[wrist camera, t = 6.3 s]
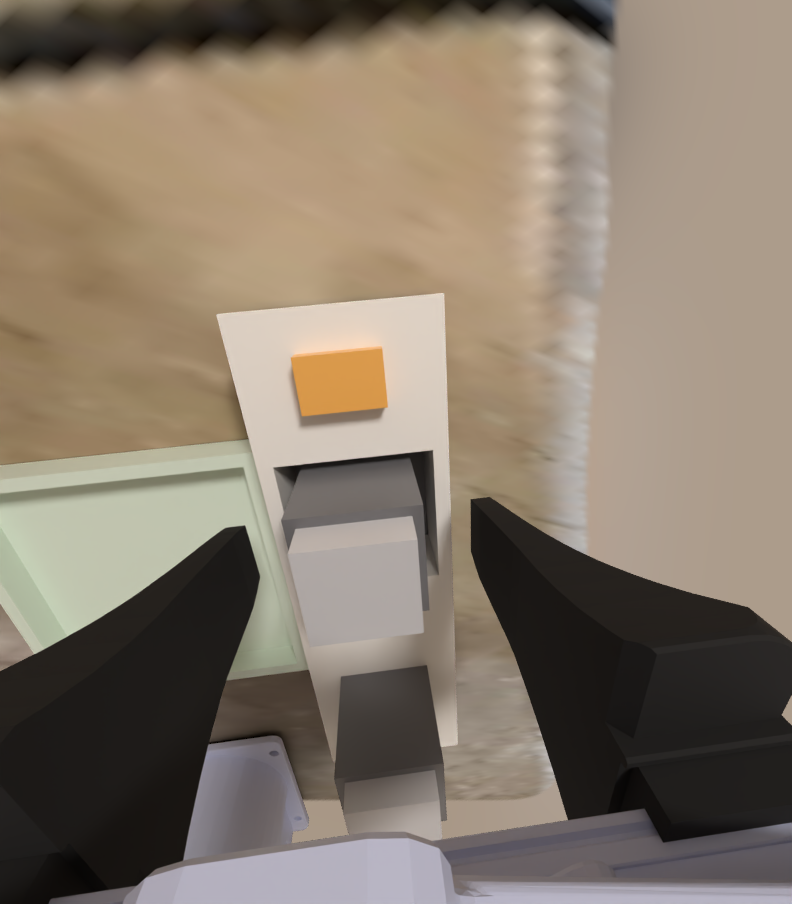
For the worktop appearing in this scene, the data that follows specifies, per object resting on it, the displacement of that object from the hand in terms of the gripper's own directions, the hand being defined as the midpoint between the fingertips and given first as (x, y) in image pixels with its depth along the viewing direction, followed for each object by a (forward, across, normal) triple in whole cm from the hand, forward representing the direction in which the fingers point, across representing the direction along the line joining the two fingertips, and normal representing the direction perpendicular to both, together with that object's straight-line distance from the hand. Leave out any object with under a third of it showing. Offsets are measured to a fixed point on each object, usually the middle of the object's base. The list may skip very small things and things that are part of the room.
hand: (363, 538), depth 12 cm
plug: (+3, 0, 0) cm, 3 cm away
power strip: (+4, 0, +3) cm, 5 cm away
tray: (+4, +9, +3) cm, 10 cm away
